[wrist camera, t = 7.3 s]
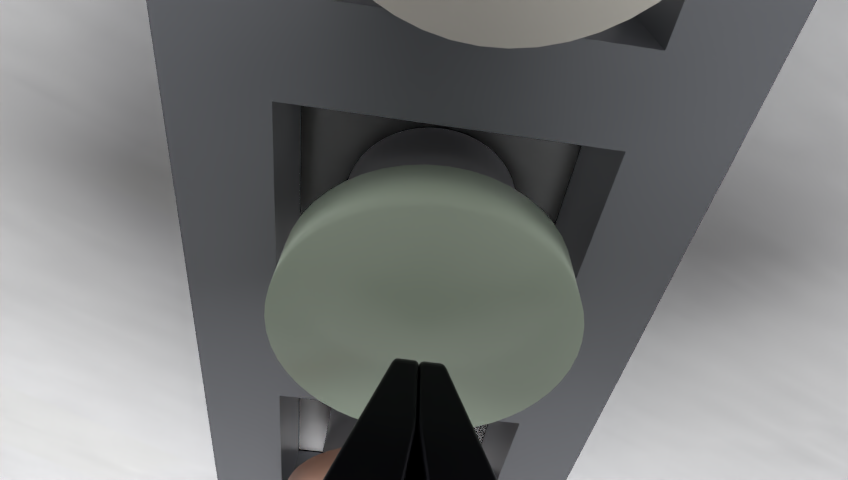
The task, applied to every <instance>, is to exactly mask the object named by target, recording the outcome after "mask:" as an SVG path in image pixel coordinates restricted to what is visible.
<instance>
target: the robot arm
mask: <svg viewBox="0 0 848 480" xmlns="http://www.w3.org/2000/svg"><path fill="white" fill-rule="evenodd" d="M323 480H497V478H496V476H495V474H494V472H493V469H492V467H491V465H490V463H489V461H488V458H487V456H486V454H485V452H484V450H483V447H482V445H481V443H480V441H479V439H478V436H477V434H476V432H475V430H474V428H473V425H472V423H471V421H470V419H469V417H468V414H467V412H466V410H465V408H464V406H463V403H462V401H461V399H460V397H459V395H458V392H457V390H456V388H455V386H454V384H453V381H452V379H451V377H450V375H449V373H448V370H447V368H446V367H445V365H443V364H441V363H434V362H426V361H423V362H421V363H420V364H418V362H417V361H415V360H409V359H401V358H396V359H394V360H393V361H392V362H391V364H390V366H389V368H388V369H387V371H386V373H385V374H384V376H383V378H382V379H381V381H380V383H379V385H378V386H377V388H376V390H375V391H374V393H373V395H372V397H371V398H370V400H369V402H368V403H367V405H366V407H365V408H364V410H363V412H362V414H361V415H360V417H359V419H358V420H357V422H356V424H355V426H354V427H353V429H352V431H351V432H350V434H349V436H348V437H347V439H346V441H345V443H344V444H343V446H342V448H341V449H340V451H339V453H338V455H337V456H336V458H335V460H334V461H333V463H332V465H331V466H330V468H329V470H328V472H327V473H326V475H325V477H324V478H323Z"/></svg>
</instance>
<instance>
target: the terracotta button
mask: <svg viewBox="0 0 848 480" xmlns="http://www.w3.org/2000/svg"><path fill="white" fill-rule="evenodd" d="M357 420H358V419H356V418H353V417H351V416H348V415H346V414H343V413H341V412H339V411H337V410H335V409H333V408H331V413H330V418H329V423H328V428H327V433H326V438H325V443H324V448H323V453H321V454H319V455H316V456H314V457H312V458H310V459H308V460H306V461H305V462H304V463H302V464H301V465H299V466H298V467H297V468H296V469H295V470H294V471H293V472H292V474H291V475H290V477H289V478H288V480H323V478H324V477H325V475H326V473H327V472H328V470H329V468H330V466H331V465H332V463H333V461H334V460H335V458H336V456H337V455H338V453H339V451H340V449H341V448H342V446H343V444H344V443H345V441H346V439H347V437H348V436H349V434H350V432H351V431H352V429H353V427H354V426H355V424H356V422H357Z"/></svg>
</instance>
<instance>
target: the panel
mask: <svg viewBox="0 0 848 480" xmlns="http://www.w3.org/2000/svg"><path fill="white" fill-rule="evenodd" d="M816 1H817V0H662V1H660V2H659V3H657V4H655V5H653V6H652V7H650V8H648V9H647V10H645V11H643V12H641V13H640V14H638V15H636V16H634V17H633V18H631V19H629V20H627V21H625V22H622V23H620V24H618V25H615V26H613V27H611V28H609V29H606V30H604V31H602V32H599V33H596V34H593V35H590V36H586V37H583V38H580V39H577V40H573V41H570V42H565V43H559V44H554V45H548V46H543V47H532V48H511V49H508V48H495V47H483V46H476V45H472V44H467V43H462V42H458V41H453V40H449V39H446V38H444V37H441V36H438V35H435V34H433V33H430V32H427V31H424V30H422V29H420V28H418V27H416V26H414V25H412V24H410V23H408V22H406V21H404V20H402V19H400V18H398V17H397V16H395V15H393V14H392V13H390V12H389V11H387V10H386V9H385V8H383V7H382V6H380V5H379V4H377V3H376V2H374V1H373V0H146V2H147V9H148V15H149V22H150V29H151V35H152V42H153V49H154V55H155V62H156V69H157V76H158V82H159V89H160V96H161V102H162V109H163V116H164V123H165V129H166V136H167V143H168V149H169V156H170V163H171V170H172V176H173V183H174V190H175V196H176V203H177V210H178V217H179V223H180V230H181V237H182V243H183V250H184V257H185V263H186V270H187V277H188V284H189V290H190V297H191V304H192V310H193V317H194V324H195V331H196V337H197V344H198V351H199V357H200V364H201V371H202V378H203V384H204V391H205V398H206V404H207V411H208V418H209V424H210V431H211V438H212V445H213V451H214V458H215V465H216V471H217V478H218V480H288V478H289V477H290V475H291V474H292V472H293V471H294V470H295V469H296V468H297V467H298V466H299V465H301V464H302V463H304V462H305V461H306V460H308V459H310V458H312V457H314V456H316V455H319V454H321V453H318V452H309V451H300V450H299V398H305V399H314V400H318V399H316V398H315V397H313V396H312V395H310V394H309V393H308V392H307V391H306V390H304V389H303V388H302V387H301V386H300V385H298V384H297V383H296V382H295V381H294V379H293V378H292V377H291V376H290V375H289V374H288V373H287V372H286V371H285V369H284V368H283V366H282V365H281V363H280V362H279V361H278V359H277V357H276V355H275V353H274V351H273V349H272V347H271V345H270V342H269V339H268V336H267V333H266V326H265V319H264V312H265V300H266V296H267V292H268V288H269V285H270V282H271V280H272V277H273V274H274V272H275V269H276V266H277V264H278V261H279V259H280V256H281V253H282V251H283V248H284V245H285V243H286V241H287V238H288V236H289V234H290V232H291V229H292V228H293V226H294V225H295V223H296V222H297V220H298V219H299V217H300V170H301V106H308V107H315V108H322V109H329V110H336V111H343V112H350V113H357V114H364V115H371V116H378V117H385V118H392V119H399V120H407V121H414V122H421V123H428V124H435V125H442V126H449V127H456V128H463V129H470V130H477V131H484V132H491V133H498V134H505V135H512V136H519V137H526V138H533V139H540V140H547V141H554V142H562V143H569V144H576V145H582V146H581V149H580V152H579V155H578V158H577V161H576V164H575V167H574V170H573V173H572V176H571V179H570V182H569V185H568V188H567V191H566V194H565V197H564V200H563V203H562V206H561V209H560V212H559V215H558V218H557V221H556V224H555V226H556V228H557V229H558V231H559V232H560V234H561V236H562V237H563V240H564V242H565V244H566V247H567V249H568V252H569V256H570V259H571V263H572V267H573V271H574V275H575V279H576V282H577V286H578V290H579V294H580V298H581V302H582V307H583V311H584V333H583V339H582V344H581V347H580V350H579V353H578V355H577V357H576V359H575V361H574V363H573V365H572V367H571V369H570V370H569V371H568V373H567V374H566V375H565V377H564V378H563V379H562V380H561V382H560V383H559V384H558V385H557V386H556V387H555V388H554V389H552V390H551V391H550V392H549V393H548V394H547V395H545V396H544V397H543V398H541V399H540V400H539V401H538V402H536V403H534V404H533V405H531V406H529V407H528V408H526V409H524V410H522V411H520V412H518V413H516V414H514V415H512V416H509V417H507V418H504V419H501V420H499V421H496V422H493V423H489V424H488V426H487V429H486V432H485V435H484V438H483V441H482V444H481V445H482V447H483V450H484V452H485V454H486V456H487V458H488V461H489V463H490V465H491V467H492V469H493V472H494V474H495V476H496V478H497V480H566V479H567V477H568V475H569V473H570V471H571V470H572V468H573V466H574V464H575V462H576V460H577V458H578V456H579V454H580V452H581V450H582V449H583V447H584V445H585V443H586V441H587V439H588V437H589V435H590V433H591V431H592V429H593V427H594V426H595V424H596V422H597V420H598V418H599V416H600V414H601V412H602V410H603V408H604V406H605V405H606V403H607V401H608V399H609V397H610V395H611V393H612V391H613V389H614V387H615V385H616V383H617V382H618V380H619V378H620V376H621V374H622V372H623V370H624V368H625V366H626V364H627V362H628V361H629V359H630V357H631V355H632V353H633V351H634V349H635V347H636V345H637V343H638V341H639V339H640V338H641V336H642V334H643V332H644V330H645V328H646V326H647V324H648V322H649V320H650V318H651V317H652V315H653V313H654V311H655V309H656V307H657V305H658V303H659V301H660V299H661V297H662V295H663V294H664V292H665V290H666V288H667V286H668V284H669V282H670V280H671V278H672V276H673V274H674V273H675V271H676V269H677V267H678V265H679V263H680V261H681V259H682V257H683V255H684V253H685V251H686V250H687V248H688V246H689V244H690V242H691V240H692V238H693V236H694V234H695V232H696V230H697V229H698V227H699V225H700V223H701V221H702V219H703V217H704V215H705V213H706V211H707V209H708V207H709V206H710V204H711V202H712V200H713V198H714V196H715V194H716V192H717V190H718V188H719V186H720V185H721V183H722V181H723V179H724V177H725V175H726V173H727V171H728V169H729V167H730V165H731V163H732V162H733V160H734V158H735V156H736V154H737V152H738V150H739V148H740V146H741V144H742V142H743V141H744V139H745V137H746V135H747V133H748V131H749V129H750V127H751V125H752V123H753V121H754V119H755V118H756V116H757V114H758V112H759V110H760V108H761V106H762V104H763V102H764V100H765V98H766V97H767V95H768V93H769V91H770V89H771V87H772V85H773V83H774V81H775V79H776V77H777V75H778V74H779V72H780V70H781V68H782V66H783V64H784V62H785V60H786V58H787V56H788V54H789V53H790V51H791V49H792V47H793V45H794V43H795V41H796V39H797V37H798V35H799V33H800V31H801V30H802V28H803V26H804V24H805V22H806V20H807V18H808V16H809V14H810V12H811V10H812V9H813V7H814V5H815V3H816Z"/></svg>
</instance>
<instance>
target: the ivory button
mask: <svg viewBox="0 0 848 480" xmlns="http://www.w3.org/2000/svg"><path fill="white" fill-rule="evenodd" d="M373 1H374V2H376V3H377V4H379V5H380V6H382V7H383V8H385V9H386V10H387V11H389V12H390V13H392V14H393V15H395V16H397V17H398V18H400V19H402V20H404V21H406V22H408V23H410V24H412V25H414V26H416V27H418V28H420V29H422V30H424V31H427V32H430V33H433V34H435V35H438V36H441V37H444V38H446V39H449V40H453V41H458V42H462V43H467V44H472V45H476V46H483V47H495V48H508V49H511V48H532V47H543V46H548V45H554V44H559V43H565V42H570V41H573V40H577V39H580V38H583V37H586V36H590V35H593V34H596V33H599V32H602V31H604V30H606V29H609V28H611V27H613V26H615V25H618V24H620V23H622V22H625V21H627V20H629V19H631V18H633V17H634V16H636V15H638V14H640V13H641V12H643V11H645V10H647V9H648V8H650V7H652V6H653V5H655V4H657V3H659V2H660V1H662V0H373Z"/></svg>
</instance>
